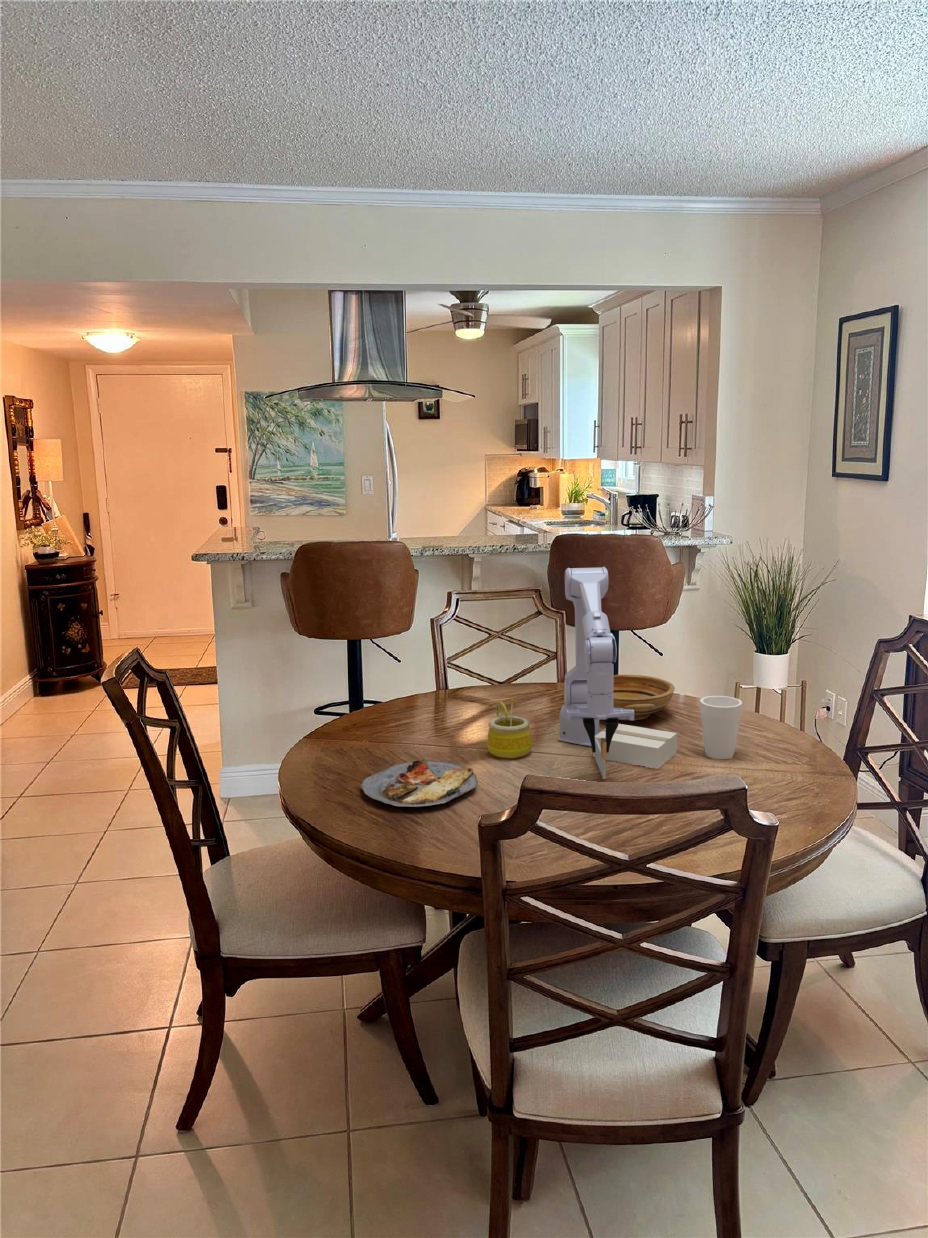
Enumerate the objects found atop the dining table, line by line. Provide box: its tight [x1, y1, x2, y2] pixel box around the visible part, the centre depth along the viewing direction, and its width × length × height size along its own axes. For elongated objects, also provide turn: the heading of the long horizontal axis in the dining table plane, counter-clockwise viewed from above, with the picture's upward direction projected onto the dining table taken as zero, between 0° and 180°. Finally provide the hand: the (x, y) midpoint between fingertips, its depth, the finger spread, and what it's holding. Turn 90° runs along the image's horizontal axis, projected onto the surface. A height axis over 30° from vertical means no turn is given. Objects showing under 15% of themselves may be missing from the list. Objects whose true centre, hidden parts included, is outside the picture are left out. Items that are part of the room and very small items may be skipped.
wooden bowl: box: [613, 674, 676, 721], centre depth 240 cm, size 30×24×8 cm
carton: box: [592, 723, 678, 770], centre depth 209 cm, size 16×12×5 cm
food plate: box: [361, 758, 479, 809], centre depth 192 cm, size 25×23×4 cm
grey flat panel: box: [594, 738, 607, 780], centre depth 200 cm, size 14×1×9 cm, turn 179°
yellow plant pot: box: [486, 698, 534, 759], centre depth 213 cm, size 13×11×12 cm
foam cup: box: [699, 695, 743, 760], centre depth 207 cm, size 10×9×13 cm
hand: (600, 751), depth 194 cm, fingers open, 2 cm apart
